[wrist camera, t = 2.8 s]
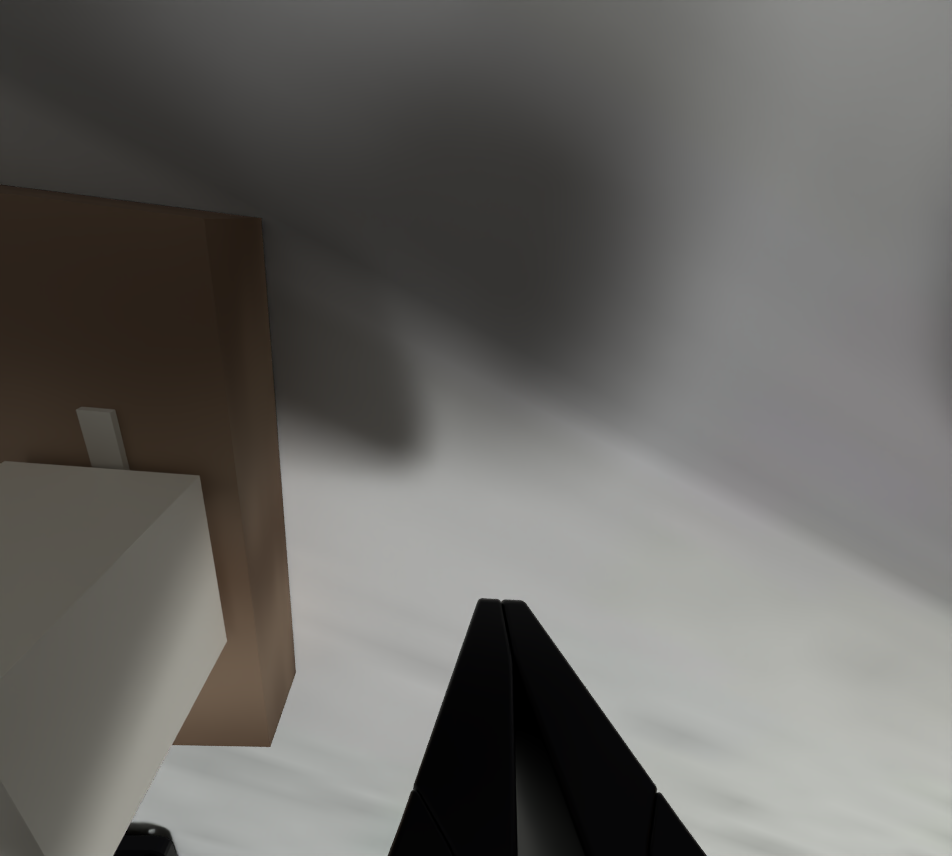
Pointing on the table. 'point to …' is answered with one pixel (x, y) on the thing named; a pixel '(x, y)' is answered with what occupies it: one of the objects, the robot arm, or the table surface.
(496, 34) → the table surface
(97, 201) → the board
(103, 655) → the fader tab
